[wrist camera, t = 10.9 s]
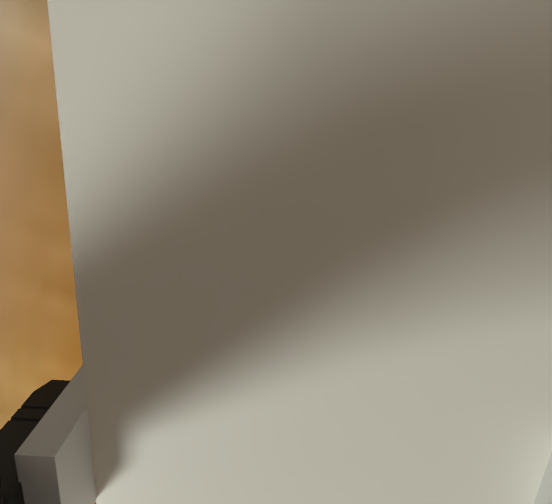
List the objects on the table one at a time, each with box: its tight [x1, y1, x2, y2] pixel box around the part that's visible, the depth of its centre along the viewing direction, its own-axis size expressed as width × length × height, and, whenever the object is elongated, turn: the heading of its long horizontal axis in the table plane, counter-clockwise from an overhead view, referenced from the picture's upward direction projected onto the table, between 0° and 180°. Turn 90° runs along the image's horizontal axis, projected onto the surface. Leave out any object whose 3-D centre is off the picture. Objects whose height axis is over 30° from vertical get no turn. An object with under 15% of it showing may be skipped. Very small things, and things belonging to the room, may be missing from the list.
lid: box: [47, 0, 552, 504], centre depth 11 cm, size 22×11×3 cm, turn 176°
